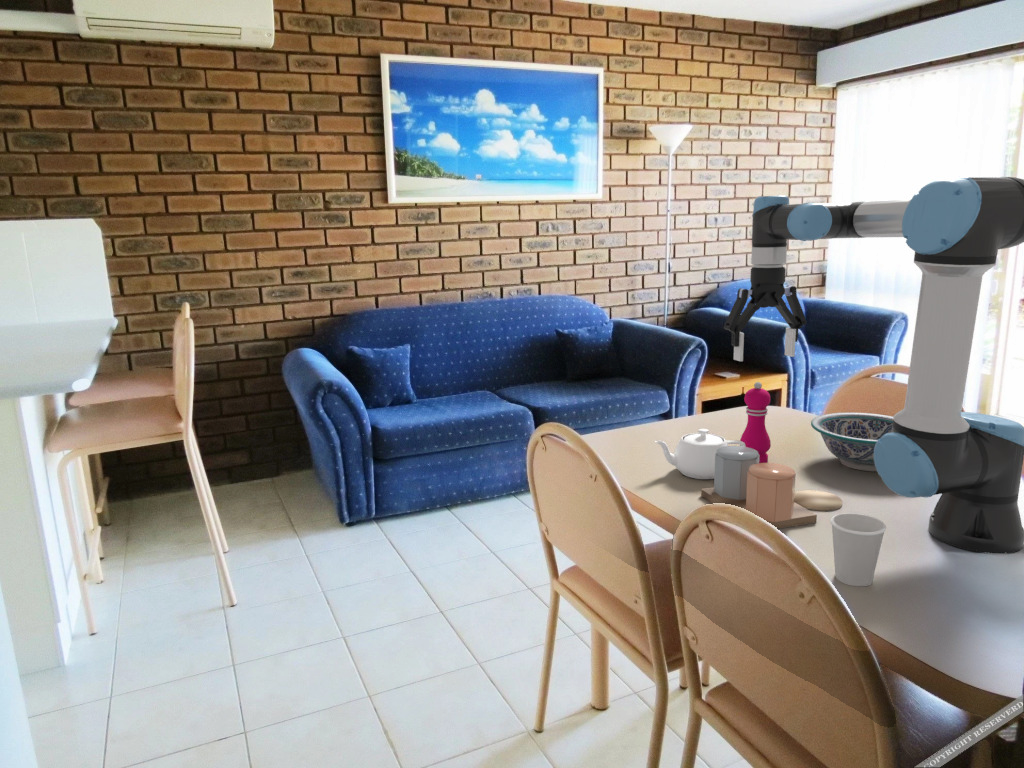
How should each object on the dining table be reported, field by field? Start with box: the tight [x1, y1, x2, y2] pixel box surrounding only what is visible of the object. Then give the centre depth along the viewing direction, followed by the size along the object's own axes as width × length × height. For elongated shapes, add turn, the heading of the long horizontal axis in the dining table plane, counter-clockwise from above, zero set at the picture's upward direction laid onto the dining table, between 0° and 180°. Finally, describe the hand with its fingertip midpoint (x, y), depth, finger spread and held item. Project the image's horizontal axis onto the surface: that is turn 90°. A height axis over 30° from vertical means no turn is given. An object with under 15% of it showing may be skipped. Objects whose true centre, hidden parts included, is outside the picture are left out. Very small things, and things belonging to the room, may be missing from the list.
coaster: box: [794, 489, 843, 512], centre depth 155 cm, size 10×10×1 cm
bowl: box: [810, 411, 894, 472], centre depth 176 cm, size 25×25×10 cm
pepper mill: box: [739, 381, 772, 463], centre depth 179 cm, size 7×7×20 cm
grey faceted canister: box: [713, 445, 760, 500], centre depth 157 cm, size 8×8×9 cm
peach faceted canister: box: [746, 462, 797, 522], centre depth 146 cm, size 8×8×9 cm
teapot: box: [654, 428, 746, 480], centre depth 173 cm, size 22×14×11 cm, turn 95°
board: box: [700, 486, 818, 529], centre depth 153 cm, size 20×14×2 cm
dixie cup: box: [829, 512, 887, 587], centre depth 122 cm, size 8×8×10 cm
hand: (764, 358), depth 171 cm, fingers open, 13 cm apart
